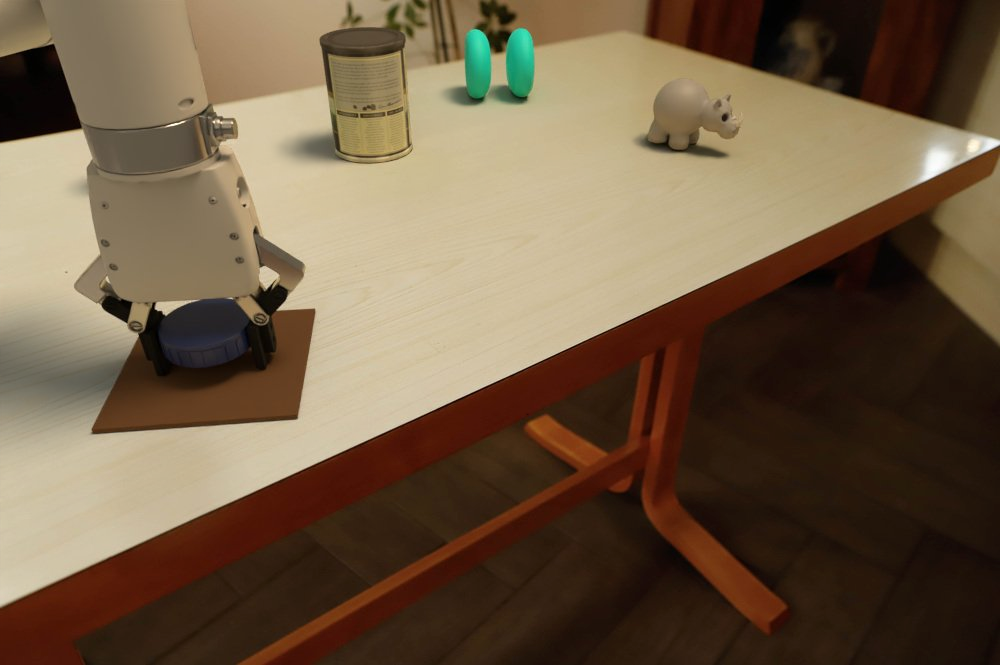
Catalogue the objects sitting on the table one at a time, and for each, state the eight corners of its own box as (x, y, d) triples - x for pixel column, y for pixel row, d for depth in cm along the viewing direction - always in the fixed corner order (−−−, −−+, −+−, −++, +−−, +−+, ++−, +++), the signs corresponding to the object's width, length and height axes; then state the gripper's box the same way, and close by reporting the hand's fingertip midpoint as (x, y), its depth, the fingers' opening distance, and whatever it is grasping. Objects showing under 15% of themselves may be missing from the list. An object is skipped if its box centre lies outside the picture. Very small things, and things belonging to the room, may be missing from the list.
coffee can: (319, 147, 95) (303, 35, 87) (383, 130, 101) (374, 22, 93) (362, 170, 89) (349, 51, 81) (428, 150, 95) (422, 37, 87)
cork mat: (92, 433, 50) (90, 429, 50) (149, 321, 62) (147, 317, 61) (297, 418, 52) (296, 414, 51) (315, 312, 63) (315, 308, 63)
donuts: (464, 88, 118) (463, 22, 112) (525, 86, 119) (526, 21, 113) (469, 107, 110) (468, 38, 104) (534, 105, 110) (536, 36, 105)
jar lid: (274, 339, 56) (270, 318, 54) (193, 380, 51) (186, 359, 50) (226, 307, 59) (221, 287, 58) (146, 344, 55) (139, 323, 54)
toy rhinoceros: (722, 166, 91) (735, 98, 86) (638, 144, 97) (646, 80, 92) (745, 150, 95) (759, 85, 90) (664, 130, 101) (673, 68, 96)
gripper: (298, 115, 50) (332, 327, 60) (35, 124, 48) (115, 341, 59) (285, 155, 44) (325, 383, 54) (-18, 167, 42) (83, 401, 52)
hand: (216, 360), depth 56 cm, fingers closed on jar lid, 6 cm apart
